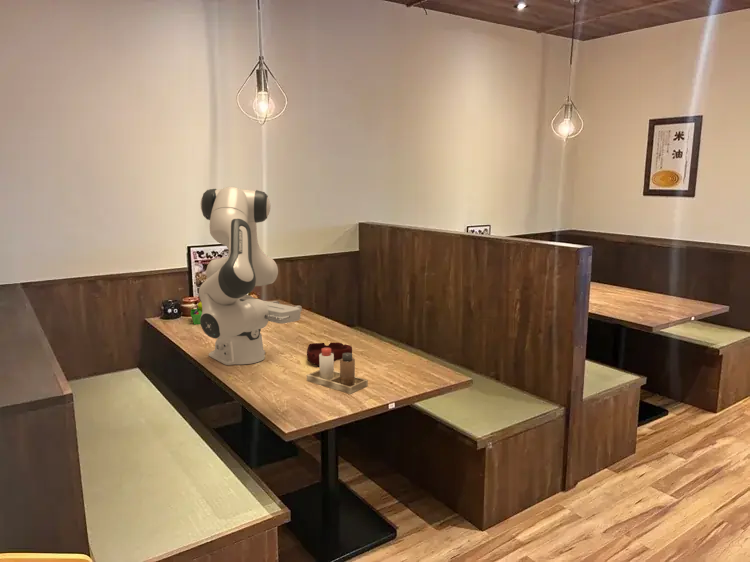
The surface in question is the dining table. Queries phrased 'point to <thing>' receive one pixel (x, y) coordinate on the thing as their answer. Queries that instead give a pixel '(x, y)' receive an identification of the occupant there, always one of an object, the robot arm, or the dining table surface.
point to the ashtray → (316, 348)
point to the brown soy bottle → (347, 370)
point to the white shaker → (326, 364)
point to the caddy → (337, 382)
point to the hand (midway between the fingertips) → (288, 305)
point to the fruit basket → (196, 314)
